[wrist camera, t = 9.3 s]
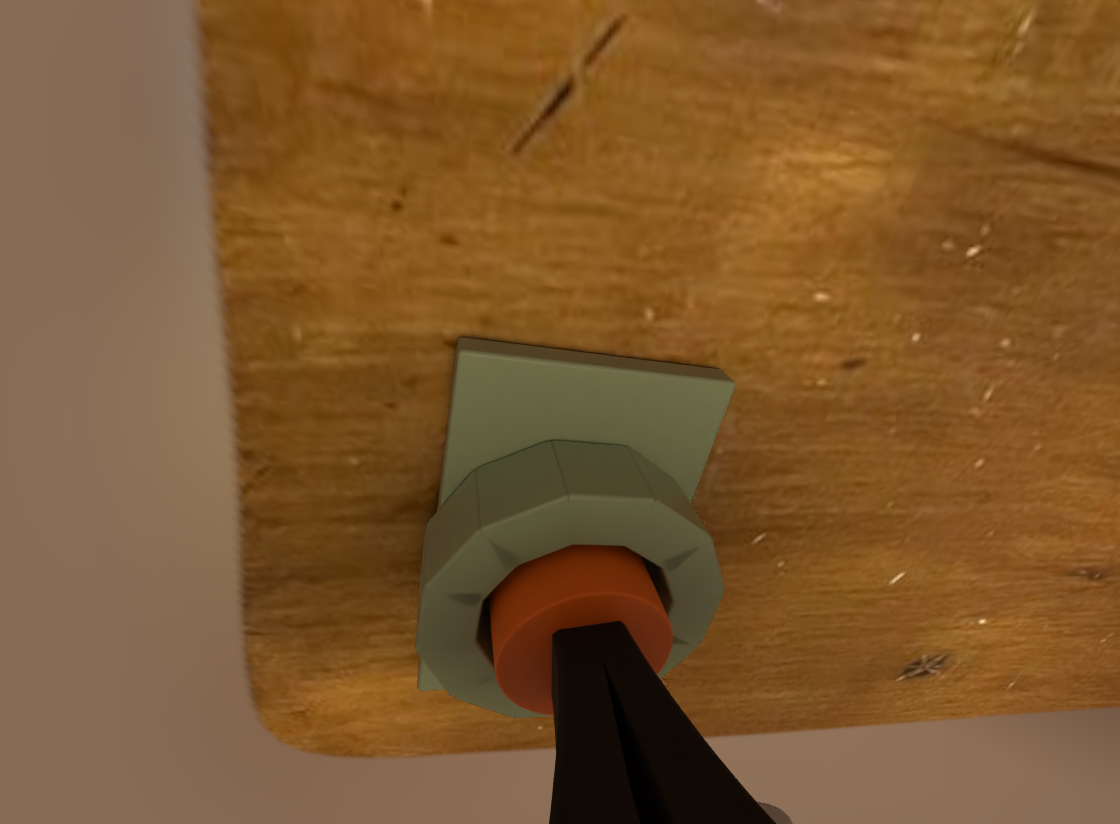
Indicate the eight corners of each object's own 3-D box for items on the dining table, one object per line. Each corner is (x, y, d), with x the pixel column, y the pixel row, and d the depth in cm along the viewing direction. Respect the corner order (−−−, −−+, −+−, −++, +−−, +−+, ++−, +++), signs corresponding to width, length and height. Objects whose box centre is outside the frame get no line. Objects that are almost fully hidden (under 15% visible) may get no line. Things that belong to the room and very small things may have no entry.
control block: (623, 660, 17) (653, 751, 14) (409, 666, 15) (401, 771, 13) (731, 369, 12) (801, 430, 10) (445, 333, 11) (444, 395, 8)
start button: (621, 638, 13) (646, 712, 12) (478, 640, 12) (483, 721, 11) (661, 526, 12) (697, 593, 10) (501, 520, 11) (510, 592, 9)
